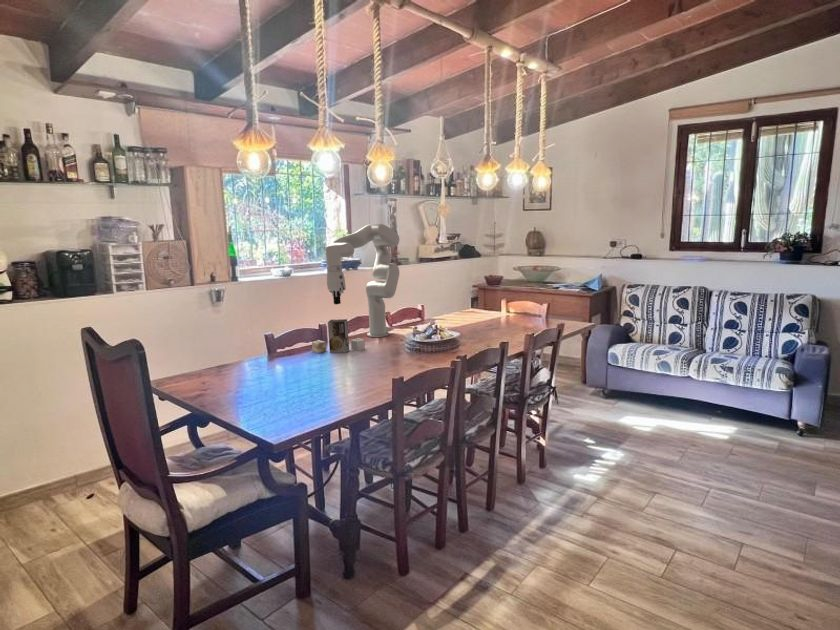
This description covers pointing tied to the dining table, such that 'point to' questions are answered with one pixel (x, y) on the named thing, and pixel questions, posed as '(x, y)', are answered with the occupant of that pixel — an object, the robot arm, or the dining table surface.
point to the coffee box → (338, 335)
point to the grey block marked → (358, 344)
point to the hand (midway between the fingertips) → (337, 303)
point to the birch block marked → (318, 346)
